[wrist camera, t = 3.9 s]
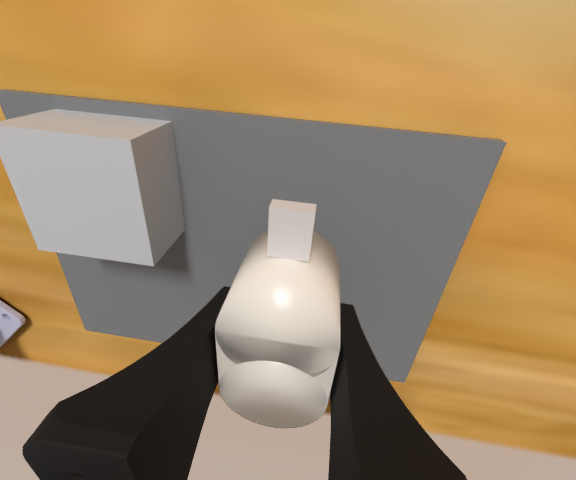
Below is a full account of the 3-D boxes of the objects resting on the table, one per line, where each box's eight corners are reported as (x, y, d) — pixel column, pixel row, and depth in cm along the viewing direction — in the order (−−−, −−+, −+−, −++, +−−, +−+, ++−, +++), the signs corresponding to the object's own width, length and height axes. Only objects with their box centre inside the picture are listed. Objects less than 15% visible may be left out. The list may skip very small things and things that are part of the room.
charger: (87, 216, 16) (38, 249, 13) (55, 108, 13) (-14, 124, 11) (184, 229, 15) (153, 266, 13) (172, 121, 13) (130, 140, 10)
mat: (89, 325, 21) (85, 330, 20) (3, 89, 13) (-5, 90, 13) (403, 376, 19) (404, 382, 19) (501, 139, 12) (506, 142, 11)
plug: (320, 372, 17) (315, 455, 13) (245, 361, 17) (222, 438, 14) (356, 188, 11) (363, 249, 8) (245, 175, 12) (207, 229, 8)
